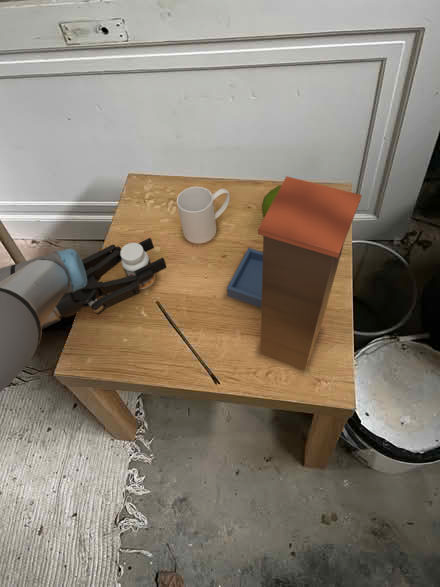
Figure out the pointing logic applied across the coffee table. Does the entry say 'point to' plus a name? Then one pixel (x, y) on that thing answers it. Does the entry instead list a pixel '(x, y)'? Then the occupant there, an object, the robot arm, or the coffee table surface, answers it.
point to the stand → (300, 265)
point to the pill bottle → (135, 261)
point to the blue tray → (248, 279)
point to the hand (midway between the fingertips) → (158, 252)
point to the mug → (199, 213)
